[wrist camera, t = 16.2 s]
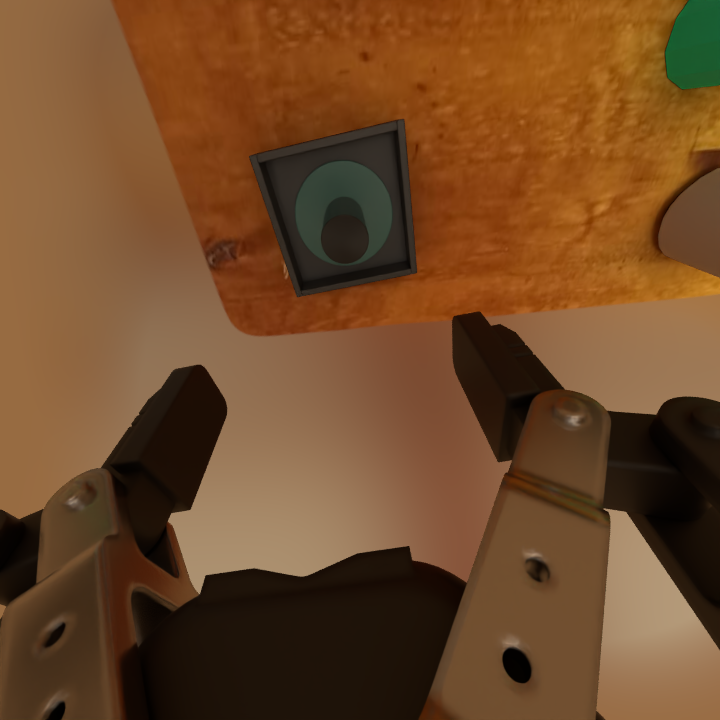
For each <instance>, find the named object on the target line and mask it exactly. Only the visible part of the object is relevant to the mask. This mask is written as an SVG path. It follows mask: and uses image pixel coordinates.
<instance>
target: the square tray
mask: <svg viewBox="0 0 720 720" xmlns="http://www.w3.org/2000/svg"><path fill="white" fill-rule="evenodd" d="M249 158H250V161H251V164H252V167H253V170H254V173H255V176H256V178H257V181H258V184H259V187H260V190H261V193H262V196H263V199H264V202H265V205H266V208H267V211H268V214H269V216H270V219H271V222H272V225H273V228H274V231H275V234H276V237H277V240H278V243H279V246H280V249H281V252H282V255H283V257H284V260H285V263H286V266H287V269H288V272H289V275H290V278H291V281H292V284H293V287H294V290H295V293H296V295H297V297H301V296H306V295H311V294H316V293H321V292H326V291H331V290H336V289H341V288H346V287H350V286H355V285H360V284H365V283H370V282H375V281H380V280H385V279H390V278H395V277H400V276H405V275H410V274H415V273H417V265H416V253H415V241H414V230H413V218H412V206H411V194H410V182H409V170H408V159H407V147H406V135H405V123H404V119H400V120H395V121H391V122H387V123H382V124H378V125H374V126H370V127H366V128H362V129H357V130H353V131H349V132H345V133H341V134H336V135H332V136H328V137H324V138H320V139H316V140H311V141H307V142H303V143H299V144H295V145H291V146H286V147H282V148H278V149H274V150H270V151H266V152H261V153H257V154H254V155H251V156H249ZM336 160H350V161H355V162H358V163H360V164H363V165H365V166H366V167H368V168H369V169H371V170H372V171H373V172H374V173H376V174H377V175H378V177H379V178H380V179H381V180H382V182H383V183H384V185H385V186H386V188H387V190H388V193H389V195H390V198H391V203H392V209H393V219H392V226H391V230H390V233H389V235H388V238H387V240H386V241H385V243H384V245H383V246H382V247H381V249H380V250H379V251H378V252H377V253H376V254H375V255H374V256H372V257H371V258H369V259H368V260H366V261H364V262H362V263H359V264H355V265H350V266H340V265H334V264H330V263H328V262H325V261H323V260H322V259H320V258H318V257H317V256H316V255H314V254H313V253H312V252H311V251H310V250H309V249H308V248H307V246H306V245H305V244H304V242H303V241H302V239H301V237H300V235H299V232H298V229H297V225H296V221H295V204H296V199H297V195H298V192H299V190H300V187H301V186H302V184H303V182H304V181H305V179H306V178H307V177H308V176H309V174H311V173H312V172H313V171H314V170H315V169H316V168H318V167H319V166H321V165H323V164H325V163H328V162H331V161H336Z"/></svg>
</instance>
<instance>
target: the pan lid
mask: <svg viewBox="0 0 720 720" xmlns="http://www.w3.org/2000/svg"><path fill="white" fill-rule="evenodd" d="M392 219H393V209H392V203H391V198H390V195H389V193H388V190H387V188H386V186H385V185H384V183H383V182H382V180H381V179H380V178H379V177H378V175H377V174H376V173H374V172H373V171H372V170H371V169H369V168H368V167H366V166H365V165H363V164H360V163H358V162H355V161H350V160H336V161H331V162H328V163H325V164H323V165H321V166H319V167H318V168H316V169H315V170H314V171H313V172H312V173H311V174H309V176H308V177H307V178H306V179H305V181H304V182H303V184H302V186H301V187H300V190H299V192H298V195H297V199H296V204H295V221H296V225H297V229H298V232H299V235H300V237H301V239H302V241H303V242H304V244H305V245H306V246H307V248H308V249H309V250H310V251H311V252H312V253H313V254H314V255H316V256H317V257H318V258H320V259H322V260H323V261H325V262H328V263H330V264H334V265H340V266H350V265H355V264H359V263H362V262H364V261H366V260H368V259H369V258H371V257H372V256H374V255H375V254H376V253H377V252H378V251H379V250H380V249H381V247H382V246H383V245H384V243H385V241H386V240H387V238H388V235H389V233H390V230H391V226H392Z"/></svg>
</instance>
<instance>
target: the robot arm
mask: <svg viewBox="0 0 720 720" xmlns="http://www.w3.org/2000/svg"><path fill="white" fill-rule="evenodd" d="M452 337H453V338H452V341H453V364H454V368H455V372H456V375H457V377H458V379H459V381H460V383H461V386H462V388H463V390H464V392H465V394H466V396H467V398H468V400H469V402H470V405H471V407H472V409H473V411H474V413H475V415H476V417H477V419H478V421H479V423H480V426H481V428H482V429H483V432H484V434H485V436H486V438H487V440H488V442H489V444H490V446H491V449H492V451H493V453H494V455H495V457H496V459H497V461H498V462H503V461H509V460H512V463H511V465H510V468H509V471H508V473H505V475H504V477H503V480H502V482H501V485H500V488H499V491H498V494H497V497H496V500H495V502H494V506H493V508H492V511H491V514H490V517H489V520H488V523H487V526H486V529H485V532H484V535H483V538H482V541H481V544H480V547H479V549H478V552H477V556H476V558H475V561H474V564H473V567H472V570H471V573H470V576H469V579H468V582H467V583H466V582H465V581H463V580H462V579H460V578H458V577H457V576H455V575H454V574H452V573H450V572H448V571H445V570H444V569H442V568H439V567H437V566H434V565H430V564H427V563H424V562H418V561H413V560H412V557H411V552H410V548H409V546H407V547H399V548H392V549H386V550H378V551H371V552H365V553H358V554H355V555H353V556H351V557H348V558H346V559H344V560H342V561H340V562H337V563H335V564H333V565H331V566H328V567H326V568H324V569H322V570H319V571H318V572H315V573H313V574H311V575H308V576H304V577H298V576H293V575H287V574H282V573H276V572H271V571H266V570H260V569H246V570H239V571H233V572H226V573H219V574H212V575H206V576H205V579H204V583H203V586H202V590H201V593H200V595H199V594H198V592H197V591H196V590H195V588H194V587H193V585H192V583H191V581H190V578H189V575H188V572H187V569H186V566H185V563H184V560H183V556H182V553H181V550H180V547H179V544H178V541H177V538H176V534H175V531H174V528H173V526H172V525H171V524H170V523H169V522H168V519H169V517H170V515H171V513H175V512H181V511H187V510H190V509H191V507H192V504H193V502H194V499H195V497H196V494H197V491H198V489H199V486H200V484H201V481H202V478H203V476H204V473H205V471H206V468H207V465H208V463H209V460H210V457H211V455H212V452H213V450H214V447H215V445H216V442H217V440H218V437H219V434H220V432H221V429H222V426H223V424H224V421H225V419H226V416H227V405H226V401H225V399H224V397H223V395H222V394H221V392H220V390H219V389H218V387H217V386H216V384H215V383H214V381H213V379H212V378H211V376H210V375H209V373H208V372H207V370H206V369H205V368H204V367H203V366H202V365H194V366H189V367H184V368H178V369H175V370H173V372H172V373H171V374H170V376H169V377H168V379H167V380H166V382H165V383H164V385H163V386H162V388H161V389H160V390H159V391H157V392H156V393H155V394H154V395H153V396H152V397H151V398H150V399H148V401H147V402H146V404H145V405H144V407H143V408H142V409H141V411H140V412H139V415H138V416H137V417H136V418H135V419H134V421H133V422H132V427H129V428H128V430H127V431H126V432H125V434H124V435H123V437H122V438H121V440H120V441H119V443H118V444H117V445H116V447H115V448H114V450H113V451H112V453H111V454H110V456H109V457H108V458H107V460H106V461H105V463H104V464H103V466H102V467H101V468H97V469H92V470H89V471H86V472H84V473H82V474H80V475H78V476H77V477H75V478H74V479H72V480H70V481H69V482H68V483H66V484H65V485H64V486H62V487H61V488H60V489H59V490H58V491H57V492H56V493H55V494H54V495H53V496H52V498H51V499H50V500H49V501H48V503H47V504H46V506H45V507H44V509H42V510H40V511H38V512H35V513H33V514H30V515H28V516H26V517H23V518H21V519H17V518H16V517H14V516H12V515H10V514H9V513H7V512H5V511H3V510H0V604H1V605H5V606H7V607H6V608H5V611H4V613H3V616H2V618H1V619H0V720H605V719H604V718H603V717H602V716H601V715H600V714H599V713H598V712H597V711H596V706H597V693H598V680H599V667H600V654H601V641H602V629H603V617H604V604H605V591H606V578H607V565H608V553H609V540H610V515H609V513H608V512H607V511H605V510H604V509H603V508H606V509H612V510H618V511H625V512H627V514H628V515H629V517H630V518H631V519H632V521H633V523H634V524H635V526H636V527H637V528H638V530H639V531H640V533H641V534H642V536H643V537H644V539H645V540H646V542H647V543H648V545H649V546H650V548H651V549H652V551H653V552H654V554H655V555H656V557H657V558H658V560H659V561H660V562H661V564H662V565H663V567H664V568H665V570H666V571H667V573H668V574H669V575H670V577H671V579H672V580H673V581H674V583H675V585H676V586H677V588H678V589H679V590H680V592H681V593H682V595H683V596H684V598H685V599H686V601H687V602H688V604H689V605H690V607H691V608H692V610H693V611H694V613H695V614H696V616H697V617H698V618H699V620H700V621H701V623H702V624H703V626H704V627H705V629H706V630H707V632H708V633H709V635H710V636H711V638H712V639H713V641H714V642H715V643H716V645H717V647H718V648H719V649H720V402H718V401H714V400H710V399H706V398H699V397H677V398H672V399H670V400H668V401H666V402H664V403H663V405H662V406H661V407H660V409H659V411H658V413H657V414H656V415H652V414H639V413H625V412H613V411H607V410H606V409H605V408H604V407H603V406H602V405H601V404H599V403H598V402H597V401H596V400H594V399H593V398H591V397H589V396H587V395H584V394H582V393H578V392H575V391H570V390H565V389H564V388H563V387H562V386H561V384H560V383H559V382H558V381H557V380H556V379H555V378H554V376H553V375H552V374H551V373H550V372H549V371H548V369H547V368H546V367H545V366H544V365H543V364H542V363H541V361H540V360H539V359H538V358H537V357H536V355H533V352H532V351H531V350H530V349H529V347H528V346H527V345H525V343H524V342H523V341H522V339H521V338H520V337H519V336H518V335H517V333H516V332H514V331H512V330H510V329H508V328H507V327H504V326H503V325H501V324H498V325H493V326H491V325H490V324H489V323H488V321H487V320H486V319H485V317H484V316H483V315H482V313H481V312H479V311H478V312H473V313H468V314H463V315H457V316H454V317H453V320H452Z"/></svg>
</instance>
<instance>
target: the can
mask: <svg viewBox="0 0 720 720" xmlns="http://www.w3.org/2000/svg"><path fill="white" fill-rule="evenodd" d="M658 240H659V248H660V249H661V251H662V252H663V254H664V255H665V256H667V257H670V258H672V259H674V260H676V261H679V262H681V263H684V264H686V265H689V266H691V267H694V268H697V269H699V270H702V271H704V272H707V273H709V274H712V275H714V276H717V277H719V278H720V168H717V169H715V170H714V171H712V172H710V173H708V174H706V175H705V176H703V177H701V178H700V179H698V180H697V181H696V182H695V183H693V184H692V185H691V186H690V187H689V188H687V189H686V190H685V191H684V192H682V193H681V194H680V195H679V196H678V197H677V199H676V200H675V201H674V202H673V203H672V204H671V206H670V207H669V209H668V210H667V212H666V214H665V216H664V217H663V220H662V224H661V227H660V231H659V234H658Z"/></svg>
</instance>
